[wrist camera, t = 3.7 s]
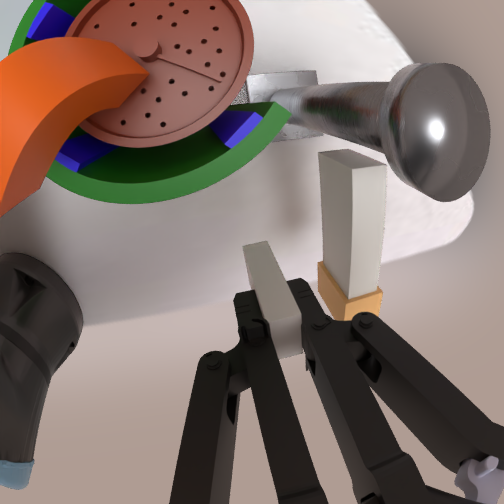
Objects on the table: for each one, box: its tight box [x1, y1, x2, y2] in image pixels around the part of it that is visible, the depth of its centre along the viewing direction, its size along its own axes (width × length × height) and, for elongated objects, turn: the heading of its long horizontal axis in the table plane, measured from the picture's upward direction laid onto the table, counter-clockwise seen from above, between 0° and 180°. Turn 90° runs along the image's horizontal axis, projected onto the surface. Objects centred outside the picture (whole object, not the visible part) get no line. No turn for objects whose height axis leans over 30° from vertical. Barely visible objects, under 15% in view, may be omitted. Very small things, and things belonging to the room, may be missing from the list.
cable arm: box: [318, 149, 387, 321], centre depth 16 cm, size 3×10×5 cm, turn 8°
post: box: [245, 63, 490, 202], centre depth 14 cm, size 6×6×18 cm
